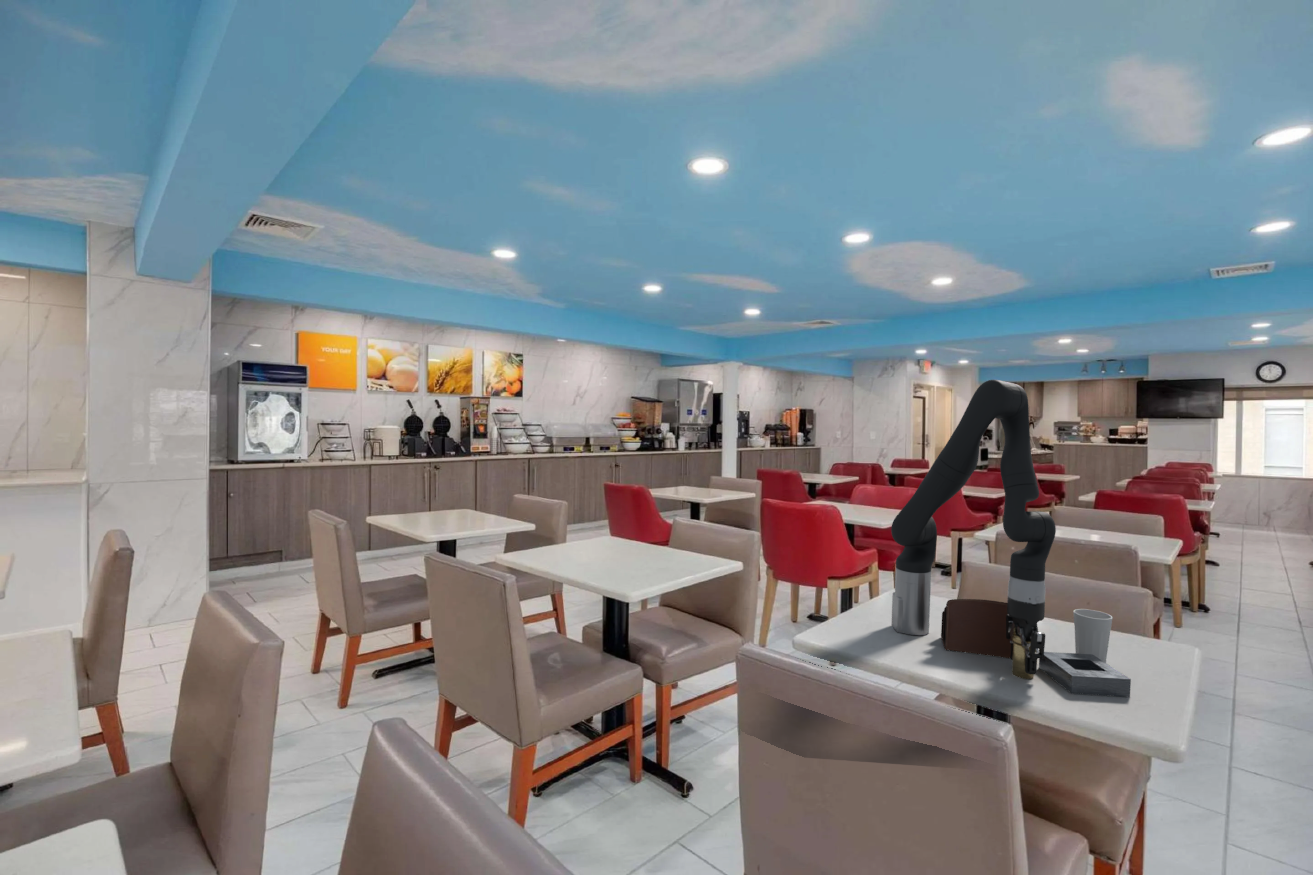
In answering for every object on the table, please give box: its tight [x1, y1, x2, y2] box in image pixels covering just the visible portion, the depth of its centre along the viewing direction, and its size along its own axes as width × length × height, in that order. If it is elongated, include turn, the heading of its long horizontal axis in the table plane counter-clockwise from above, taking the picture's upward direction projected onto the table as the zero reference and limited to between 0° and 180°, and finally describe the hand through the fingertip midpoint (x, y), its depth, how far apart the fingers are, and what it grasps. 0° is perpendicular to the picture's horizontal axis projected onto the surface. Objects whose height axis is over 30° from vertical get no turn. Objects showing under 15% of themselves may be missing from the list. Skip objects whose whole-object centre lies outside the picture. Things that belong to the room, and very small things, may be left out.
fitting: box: [1011, 634, 1035, 680], centre depth 147 cm, size 5×5×9 cm
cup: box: [1072, 608, 1113, 663], centre depth 156 cm, size 8×8×12 cm
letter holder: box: [940, 598, 1011, 659], centre depth 163 cm, size 10×20×14 cm, turn 71°
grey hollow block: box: [1038, 651, 1132, 698], centre depth 144 cm, size 12×14×4 cm
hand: (1023, 666), depth 147 cm, fingers open, 6 cm apart
